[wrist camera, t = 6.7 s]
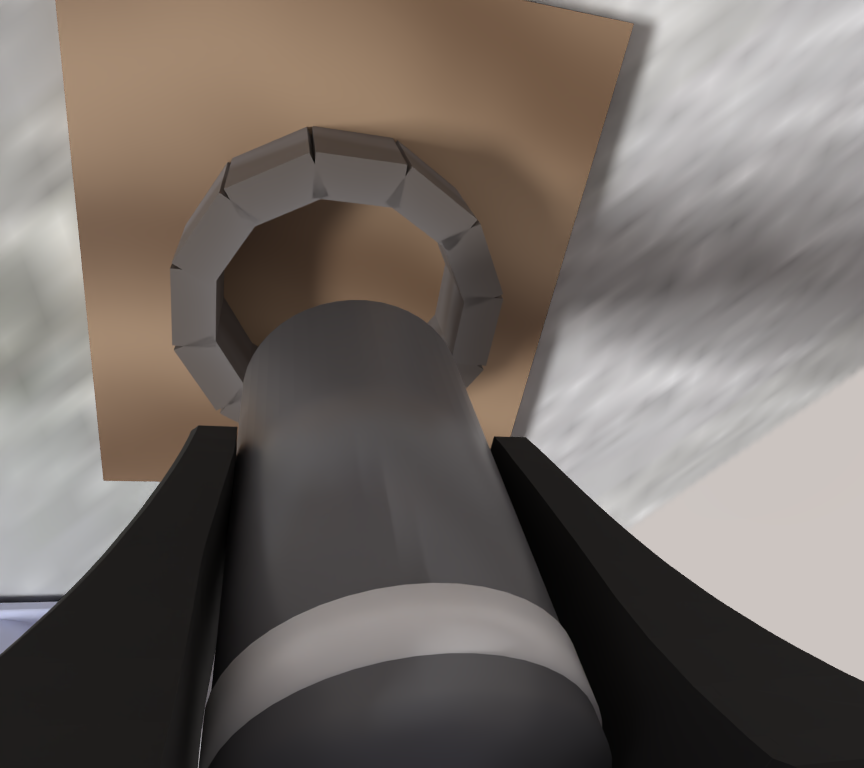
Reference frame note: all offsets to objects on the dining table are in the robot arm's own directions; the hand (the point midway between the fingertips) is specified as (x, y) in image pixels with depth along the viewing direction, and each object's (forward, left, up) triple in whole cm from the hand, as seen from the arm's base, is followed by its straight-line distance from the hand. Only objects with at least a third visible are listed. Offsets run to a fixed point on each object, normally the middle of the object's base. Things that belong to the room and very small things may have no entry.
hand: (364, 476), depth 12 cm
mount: (0, 0, -9) cm, 9 cm away
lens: (0, 0, -2) cm, 2 cm away
